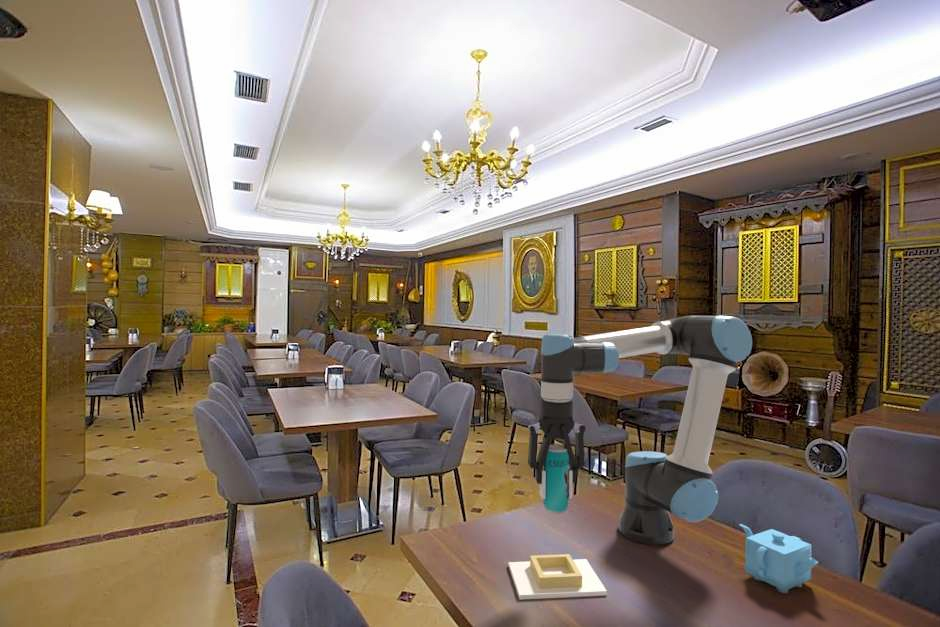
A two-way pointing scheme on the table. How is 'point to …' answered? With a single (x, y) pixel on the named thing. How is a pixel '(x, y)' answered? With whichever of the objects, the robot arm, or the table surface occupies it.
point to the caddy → (555, 577)
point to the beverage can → (556, 479)
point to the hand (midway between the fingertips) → (555, 496)
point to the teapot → (778, 559)
